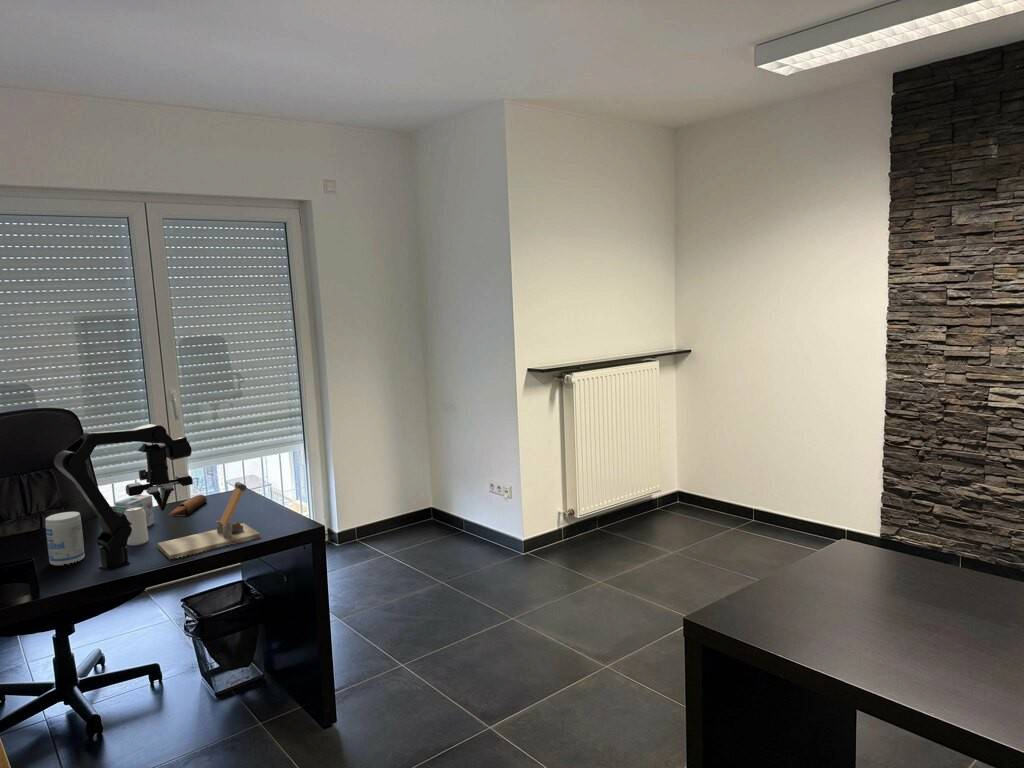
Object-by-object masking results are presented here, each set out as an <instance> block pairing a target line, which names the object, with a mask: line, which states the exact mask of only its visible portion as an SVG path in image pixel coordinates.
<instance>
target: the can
mask: <svg viewBox="0 0 1024 768" xmlns="http://www.w3.org/2000/svg"><path fill="white" fill-rule="evenodd" d="M124 514H125V515H126V517H127V519H128V521H129V522H130V523H132V525H130V526H131V528H132V532H131V535H130V536H129V538H128V541H127V545H128V546H129V547H134V546H135V547H136V546H141V545H144V544H146V543H147V542H148V541H149V532H148V531H149V530H148V527H147V522H146V513H145V510H144V509H143V506H133V507H128V508H126V509H125V512H124Z"/></svg>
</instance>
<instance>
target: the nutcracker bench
mask: <svg viewBox="0 0 1024 768" xmlns="http://www.w3.org/2000/svg"><path fill="white" fill-rule="evenodd" d="M215 523H216V524H215V525H216V529H212V530H208V531H203V532H200V533H196V534H195V533H194V534H191V535H187V536H182V537H178V538H174V539H170V540H165V541H160V542H157V548H158V550H160V551H161V553H163V554H164V555H165V556H166V557H167V558H168V559H169V560H170V559H173V558H177V559H180V558H179V557H181V558H184V557H183V556H185V557H188V556H187V555H189V556H192V554H193V555H196V553H197V554H200V553H199V552H201V553H204V552H203V551H205V552H207V551H206V550H209V551H211V550H210V549H213V548H217V547H221V546H225V545H229V546H231V545H230V544H233V545H237V544H241V543H246V542H249V541H252V540H256V539H257V540H258V539H260V538H261V535H260V532H258V531H257V530H255V529H253V528H252V527H251V526H249V525H247V524H246V523H244V522H241V523H240V522H238V521H236V522H232V524H230V523H229V524H228V525H223V524H221V523H220V520H216V521H215ZM236 543H237V544H236ZM225 547H226V546H225ZM221 548H222V547H221ZM217 549H218V548H217ZM213 550H214V549H213ZM173 560H174V559H173Z"/></svg>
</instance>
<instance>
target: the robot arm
mask: <svg viewBox="0 0 1024 768" xmlns="http://www.w3.org/2000/svg"><path fill="white" fill-rule="evenodd" d="M133 442H137V443H143V444H142V445H141V446H140V448H139V449H138V450H137V451H138V452H140V453H145V456H146V464H147V466H146V467H147V468H146V469H147V471H146V469H141V470H140V469H139V470H138V477H139V481H138V482H134V483H129V484H126V486H125V494H126V495H128V497H133V496H136V495H143V494H142V493H144V491H146V493H147V494H148V495H150V496H152V498H153V499H154V500H155V502H156V503H157V506H158V508H159V509H160V511H161V512H164V511H165V510H166V505H167V503H168V500H169V497H170V495H171V493H172V492H173V491H175V488H174V485H180V486H182V487H186V486H191V485H193V484H194V480H193V477H192V476H190V475H189V474H187V473H183V474H177V475H175V476H174V477H175V478H172V479H170V476H169V466H168V459H169V460H170V461H175V460H179V459H183V458H188V457H191V455H192V447H191V444H190V442H189V441H188V438H187V436H181V437H177V438H172V437H171V436H170V435H169V434H168V433H167V430H166V428H165V427H164V426H163V425H159V424H153V423H147V424H144V425H139V426H136V427H134V428H129V429H122V430H121V429H118V430H105V431H94V432H92V431H86V432H84V433H83V434H82V435H81V436H80V437H79V438H77V439H76V440H75V441H73V443H70V445H68V446H67V447H66V448H65V449H64V450H62V451H60V452H58V453H57V454H56V456H55V457H54V460H53V463H54V464H53V465H54V466H55V467H56V468H57V470H58V471H60V472H61V473H62V474H63V475H64V476H65V477H67V478H68V479H70V481H72V483H74V485H75V486H76V488H77V489H78V491H79V492H80V493H81V494H82V496H83V497H84V499H85V500H86V502H87V503H88V504H89V506H90V508H91V509H92V510H93V512H94V513H95V514H96V516H97V518H98V521H99V525H100V528H101V532H100V534H99V536H98V537H97V538H96V539H95V542H96V544H97V546H98V547H100V548H99V554H100V555H99V557H100V564H98V568H101V569H104V570H108V571H111V570H115V569H119V568H120V567H123V566H127V565H129V564H131V561H129V553H128V552H129V551H128V547H127V545H128V544H127V541H128V538H129V536H130V535H131V532H132V528H131V526H130V525H132V523H130V522H129V521H128V519H127V517H126V515H125V514H123V513H120V512H117V511H116V510H115V511H114V509H113V508H112V506H111V505H110V504H109V502H108V501H107V499H106V498H105V496H104V495H103V493H102V491H100V489H99V487H98V486H97V485H96V483H95V482H94V481H93V479H92V478H91V476H90V473H89V469H88V468H89V467H88V465H87V462H86V461H87V460H88V458H89V457H90V456H91V455H92V453H93V452H94V450H95V448H96V447H97V446H100V445H111V444H112V445H113V444H123V443H133ZM147 443H148V444H149V445H148V444H147ZM159 444H162V445H159ZM145 480H146V483H144V484H142V483H141V482H140V481H145ZM159 489H160V490H159Z"/></svg>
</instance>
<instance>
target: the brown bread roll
mask: <svg viewBox="0 0 1024 768" xmlns="http://www.w3.org/2000/svg"><path fill="white" fill-rule="evenodd" d="M205 502H206V503H207V497H206V496H205V495H204V494H198V495H195V496H192V497H191V498H188V499H186V500H185V501H183V502H181V503H180V504H178V506H177V507H175V508H174V509H173V510H171V512H169V513H168V515H188V516H189V515H190V514H191V513H193V511H195V510H197V508H199V507H201V506H202V505H203V504H205Z"/></svg>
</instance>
